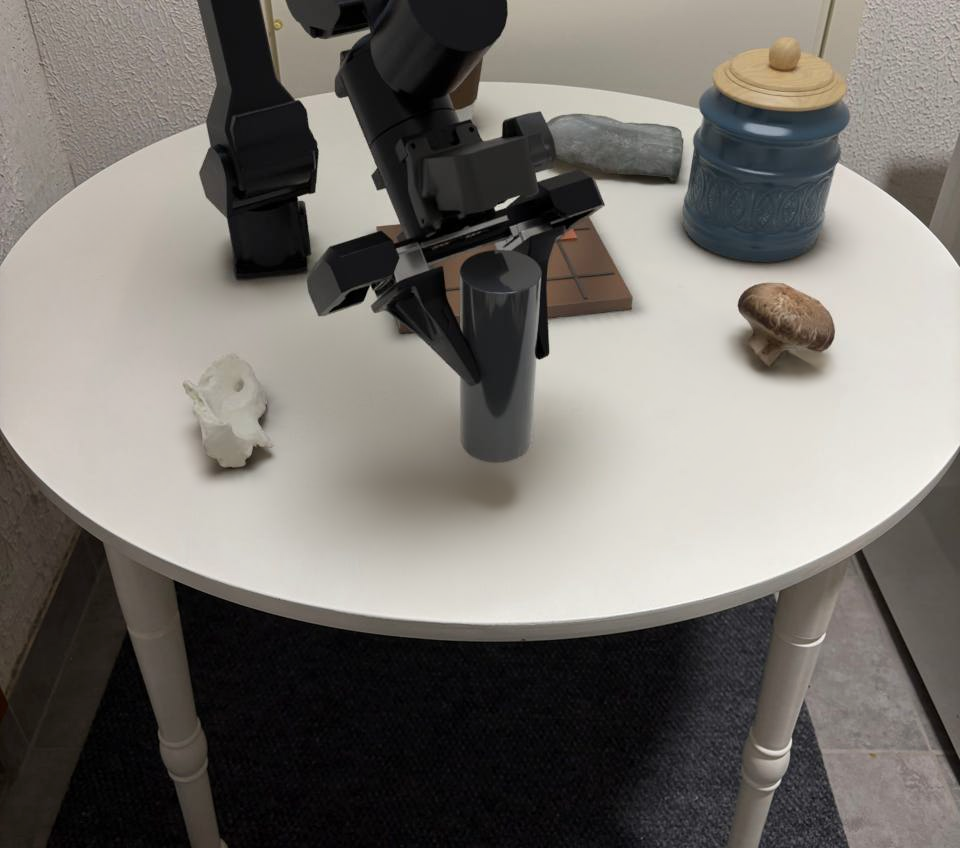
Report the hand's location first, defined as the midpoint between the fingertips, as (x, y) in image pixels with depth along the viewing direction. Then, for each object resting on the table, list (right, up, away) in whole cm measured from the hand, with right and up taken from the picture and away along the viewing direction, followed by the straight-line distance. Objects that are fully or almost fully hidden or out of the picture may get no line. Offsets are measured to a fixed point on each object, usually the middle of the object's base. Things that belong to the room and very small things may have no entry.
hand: (510, 371), depth 65 cm
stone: (+12, +28, +46) cm, 55 cm away
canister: (+24, +18, +35) cm, 46 cm away
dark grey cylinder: (-1, -4, +5) cm, 7 cm away
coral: (-20, -3, +13) cm, 24 cm away
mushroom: (+22, +4, +21) cm, 31 cm away
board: (0, +13, +29) cm, 32 cm away
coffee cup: (-6, +34, +51) cm, 61 cm away
